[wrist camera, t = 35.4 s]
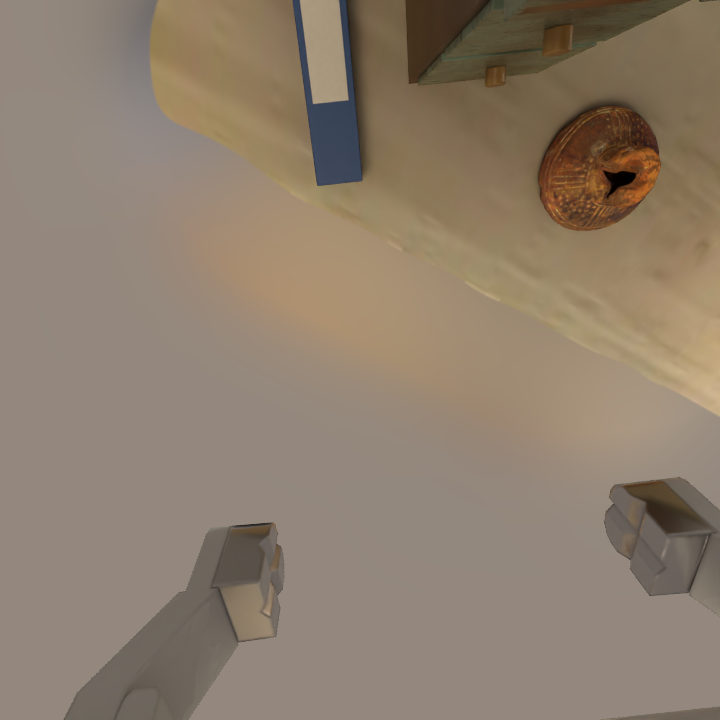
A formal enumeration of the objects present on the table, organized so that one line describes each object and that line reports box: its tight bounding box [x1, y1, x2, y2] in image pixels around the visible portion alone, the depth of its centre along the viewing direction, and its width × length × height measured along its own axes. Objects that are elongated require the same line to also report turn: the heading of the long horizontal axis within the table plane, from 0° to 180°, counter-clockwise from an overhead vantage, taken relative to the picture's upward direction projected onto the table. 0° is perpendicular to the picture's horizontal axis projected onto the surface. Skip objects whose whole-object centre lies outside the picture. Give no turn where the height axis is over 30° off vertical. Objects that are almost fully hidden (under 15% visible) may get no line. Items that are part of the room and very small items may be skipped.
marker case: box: [293, 0, 362, 186], centre depth 37 cm, size 4×20×3 cm, turn 6°
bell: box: [538, 106, 661, 231], centre depth 40 cm, size 12×12×7 cm
